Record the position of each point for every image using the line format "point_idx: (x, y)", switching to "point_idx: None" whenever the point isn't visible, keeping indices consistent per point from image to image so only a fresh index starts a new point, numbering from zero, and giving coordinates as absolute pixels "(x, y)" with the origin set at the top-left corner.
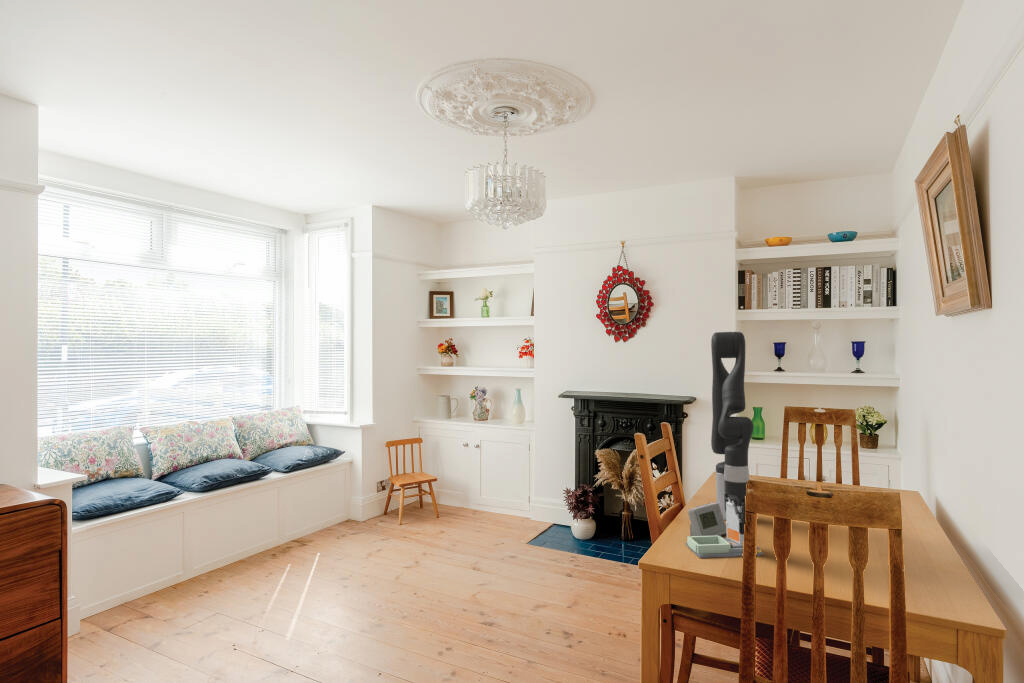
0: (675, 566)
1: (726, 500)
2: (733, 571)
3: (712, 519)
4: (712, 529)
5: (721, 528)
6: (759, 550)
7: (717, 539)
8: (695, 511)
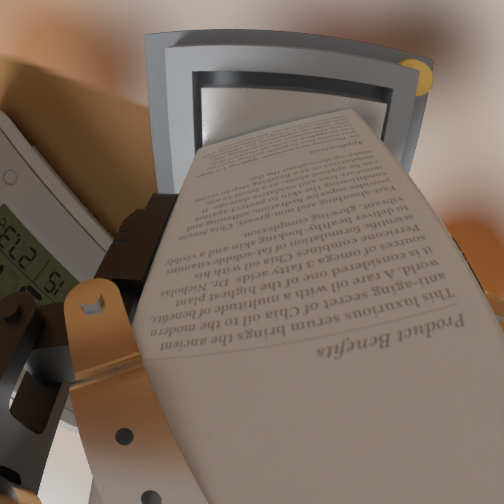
0: None
1: (36, 487)
2: (485, 292)
3: (1, 263)
4: (60, 241)
5: (8, 166)
6: (424, 79)
7: None
8: (73, 414)
